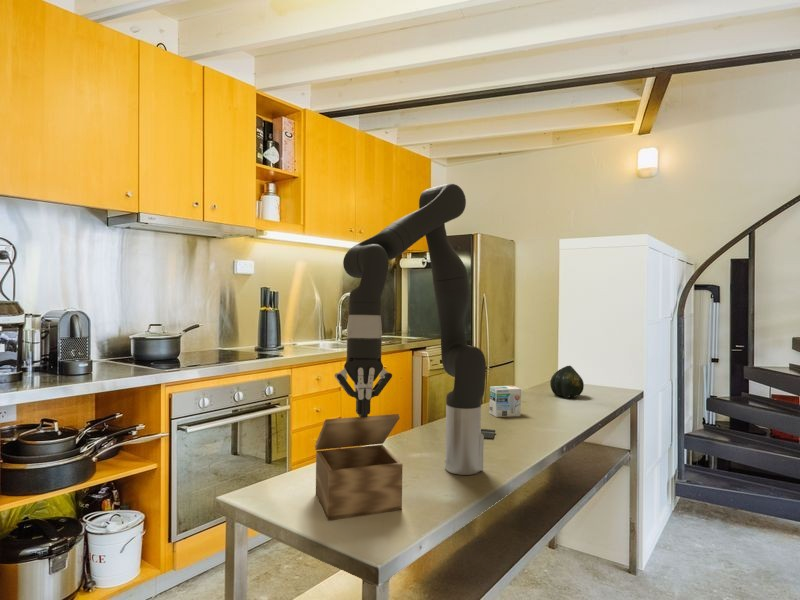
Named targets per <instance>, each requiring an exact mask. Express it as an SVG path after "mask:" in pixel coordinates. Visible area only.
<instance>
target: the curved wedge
mask: <svg viewBox="0 0 800 600" xmlns="http://www.w3.org/2000/svg"><path fill="white" fill-rule="evenodd" d="M495 433H496V430H495V429H487V428H481V434H483V435H484V440H494V439H495Z"/></svg>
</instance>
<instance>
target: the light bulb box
mask: <svg viewBox="0 0 800 600" xmlns="http://www.w3.org/2000/svg"><path fill="white" fill-rule="evenodd" d="M521 402H522V389H521V388H520V387H517V386H515V385H497V386H496V385H495V386H489V410H488V411H489V414H491V416H494V417H496V418H501V417H504V418H505V417H521V404H522V403H521Z"/></svg>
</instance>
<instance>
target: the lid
mask: <svg viewBox="0 0 800 600" xmlns="http://www.w3.org/2000/svg"><path fill="white" fill-rule="evenodd" d="M399 420H400V414H399V413H395V414H381V415H379V414H378V415H368V416H367V417H359V416H355V417H352V416H351V417H342V418H341V417H340V418H338V417H337V418H327V419H325V420H324V421H323V425H322V428H321V430H320V433H319V435H318V437H317V439H316V443H315V445H314V448H315V449H314V450H315V451H321V450H332V449H342V448H353V447H363V446H373V445H383V444H384V443H385V441H386V439H388V437H389V436H390V434H391V433H392V431H393V429H394V428H395V426H396V425H397V423H398V421H399Z"/></svg>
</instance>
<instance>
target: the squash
mask: <svg viewBox="0 0 800 600" xmlns="http://www.w3.org/2000/svg"><path fill="white" fill-rule="evenodd" d="M549 385H550V388H551V391H552V393H553V394H554V395H556V396H559V397H561V396H562V397H564V398H565V399H569V398H571V399H572V398H576V397H578V396H579V395H581V394H582V393H583V391H584V387H585V385H584V380H583V378H582V376H581V375H579V373H578V372H577V371H576V369H574V367H573V366H571V365H566V366H564V367H561V368H560V369H558V370H557V371H555V372H554V373H553V375H552V376H551V379H550V384H549Z"/></svg>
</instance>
